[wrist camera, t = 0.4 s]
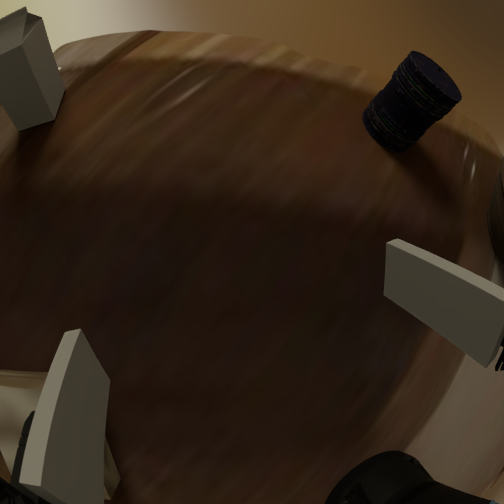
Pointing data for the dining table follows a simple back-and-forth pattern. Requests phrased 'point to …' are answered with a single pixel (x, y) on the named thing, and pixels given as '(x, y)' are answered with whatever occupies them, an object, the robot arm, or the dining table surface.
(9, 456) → the pedestal
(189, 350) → the dining table surface
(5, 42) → the milk carton
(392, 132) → the storage jar
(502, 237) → the flower pot
